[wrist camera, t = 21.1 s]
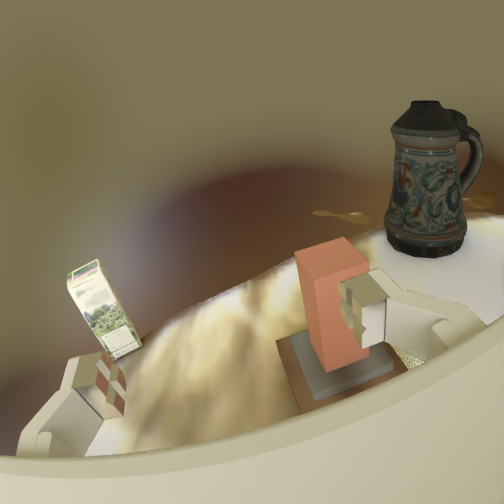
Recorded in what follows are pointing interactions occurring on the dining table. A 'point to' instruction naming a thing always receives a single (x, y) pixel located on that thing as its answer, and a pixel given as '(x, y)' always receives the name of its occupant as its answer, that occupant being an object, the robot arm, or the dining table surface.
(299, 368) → the podium
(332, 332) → the carton
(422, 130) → the beer stein
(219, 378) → the dining table surface
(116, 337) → the syrup box
